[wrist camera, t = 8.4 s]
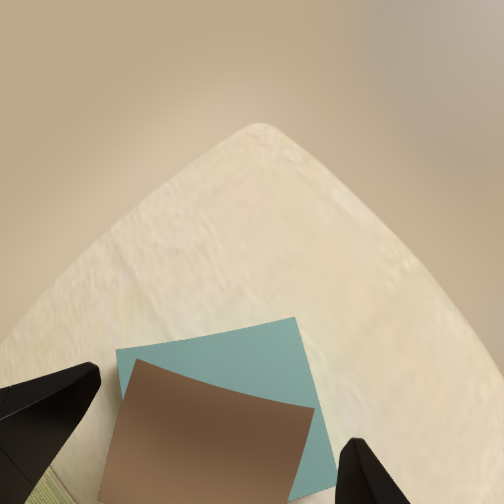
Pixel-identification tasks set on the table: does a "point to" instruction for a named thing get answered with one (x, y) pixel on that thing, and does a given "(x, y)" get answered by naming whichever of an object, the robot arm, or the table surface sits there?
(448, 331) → the table surface
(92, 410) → the table surface
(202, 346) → the teal plinth
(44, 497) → the box
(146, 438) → the walnut block
